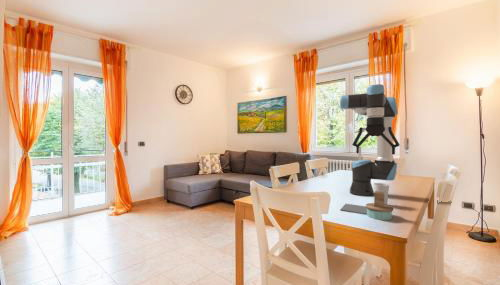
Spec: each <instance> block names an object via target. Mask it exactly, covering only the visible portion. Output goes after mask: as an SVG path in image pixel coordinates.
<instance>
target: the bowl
mask: <svg viewBox="0 0 500 285" xmlns="http://www.w3.org/2000/svg"><path fill="white" fill-rule="evenodd" d="M366 216H367V217H369V218H371V219H374V220H378V221H390V220H392V219H393V211H391V212H378V211H373V210H369V209H367V215H366Z"/></svg>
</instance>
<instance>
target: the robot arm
mask: <svg viewBox="0 0 500 285" xmlns="http://www.w3.org/2000/svg"><path fill="white" fill-rule="evenodd" d="M339 105H340V106H339V107H340V109H342V110H349V109H350V110H352V111H354V112H355V113H356V114H358V115H362V116H365V117H366V127H359V129H358V133H357V135H356V137H355V139H354V141H353V143H352V146H354V147H355V149H356V151H355V152H356V154H358V160H354V161H353V162H352V164H351V165H352V166H351V167H352V171H351V174H352V175H351V176H352V180H351V185H350V188H349V193H350V194H351V195H354V196H361V197H370V196H374V187H373V185H372V180H379V181H394V180H395V179H396V175H397V168H398V162H396V161H395V158H393V155H394V156H395V155H396V148H397V147H400V143H399V141H398V139H397V138H396V136H395V134H394V132H393V121H394V119H395V118H396V116H397V115H398V106H397V99H396V98H395V97H394V96H386V95H385V85H384V84H378V83H377V84H370V85H368V86H367V87H366V93H365V92H364V93H355V94H354V93H353V94H346V95H341V96H340V99H339ZM365 131H366V134H365V135H364V136H363V137H362V138H361V136H362V134H363V133H364V132H365ZM369 137H376V145H377V146H376V158H374V161H372V160H371V159H362V145H363V143H364V142H365V141H366V140H368V138H369ZM360 138H361V140H360ZM359 140H360V141H359ZM358 141H359V142H358ZM393 142H394V143H395V144H394V143H393Z"/></svg>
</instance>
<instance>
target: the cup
mask: <svg viewBox="0 0 500 285" xmlns="http://www.w3.org/2000/svg"><path fill="white" fill-rule="evenodd" d="M373 190H374V192H375V191H379V192H384V204H386V205H388V202H389V201H388V199H389V191H390V184H388V183H383V182H374V183H373Z"/></svg>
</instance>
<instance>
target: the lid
mask: <svg viewBox="0 0 500 285" xmlns="http://www.w3.org/2000/svg"><path fill="white" fill-rule="evenodd" d="M373 197H374V198H373V199H374V202H369V203H366V204H365V206H366V208H367V209H369V210H373V211H378V212H391V211H392V212H393V211H394V207H393V206H392V205H389V204H387V205H386V204H384V192H379V191H375V192H374V195H373Z"/></svg>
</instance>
